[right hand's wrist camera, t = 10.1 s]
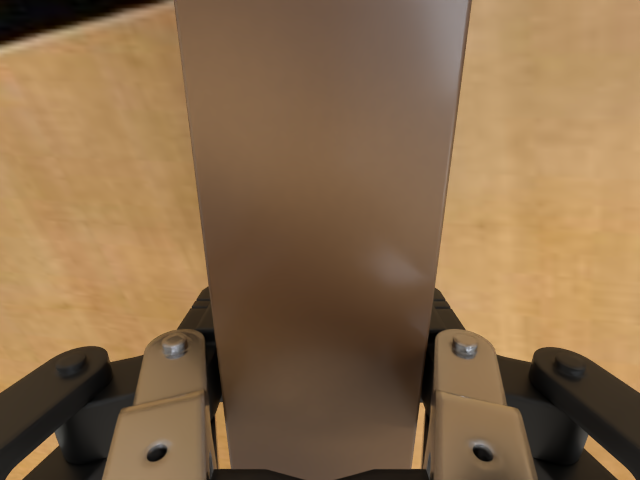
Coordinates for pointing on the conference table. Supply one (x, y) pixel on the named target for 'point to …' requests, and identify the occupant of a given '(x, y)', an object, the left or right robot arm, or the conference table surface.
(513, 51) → the conference table surface
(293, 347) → the post
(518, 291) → the conference table surface
